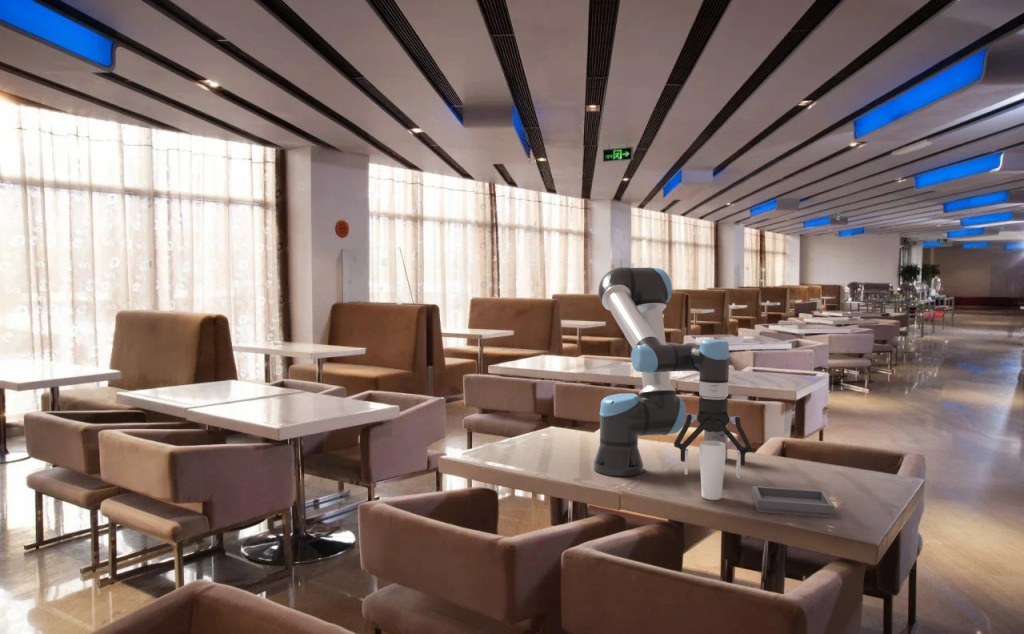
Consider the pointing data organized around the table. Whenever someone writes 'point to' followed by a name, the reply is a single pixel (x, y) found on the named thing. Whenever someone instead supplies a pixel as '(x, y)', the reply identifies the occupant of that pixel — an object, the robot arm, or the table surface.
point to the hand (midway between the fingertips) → (711, 475)
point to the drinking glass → (712, 469)
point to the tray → (793, 501)
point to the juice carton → (717, 438)
